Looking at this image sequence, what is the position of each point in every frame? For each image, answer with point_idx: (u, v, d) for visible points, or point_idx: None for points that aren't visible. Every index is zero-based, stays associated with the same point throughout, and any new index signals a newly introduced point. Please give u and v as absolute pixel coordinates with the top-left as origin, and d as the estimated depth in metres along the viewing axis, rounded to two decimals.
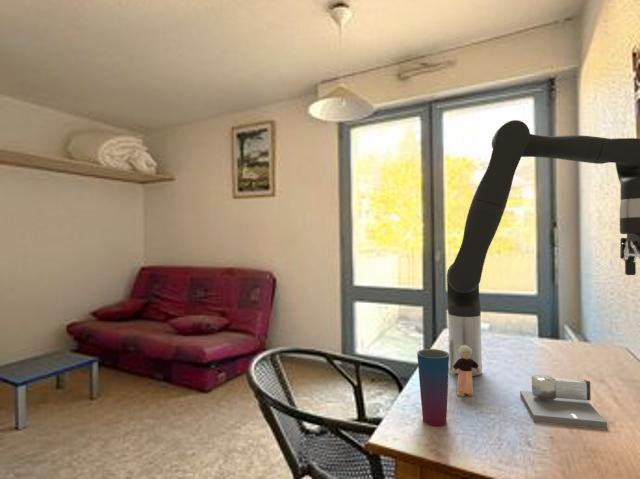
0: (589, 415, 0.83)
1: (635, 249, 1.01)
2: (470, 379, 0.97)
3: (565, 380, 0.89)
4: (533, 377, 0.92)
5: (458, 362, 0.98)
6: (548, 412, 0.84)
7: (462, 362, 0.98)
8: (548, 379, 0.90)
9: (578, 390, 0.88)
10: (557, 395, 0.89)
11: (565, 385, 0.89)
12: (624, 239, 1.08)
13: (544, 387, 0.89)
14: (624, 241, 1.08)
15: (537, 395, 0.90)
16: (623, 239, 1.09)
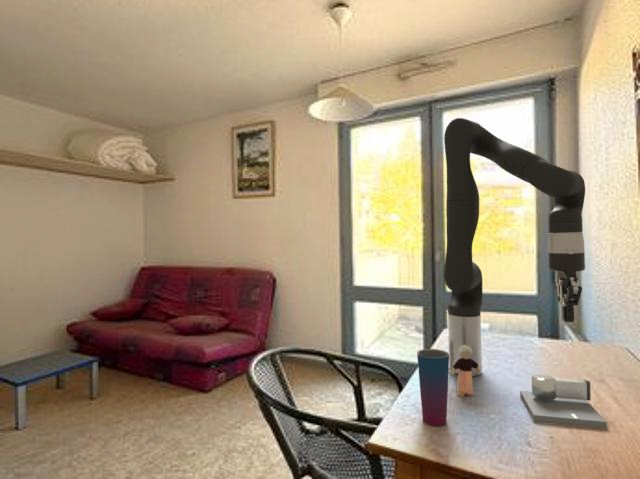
0: (589, 415, 0.83)
1: (561, 289, 0.94)
2: (470, 379, 0.97)
3: (565, 380, 0.89)
4: (533, 377, 0.92)
5: (458, 362, 0.98)
6: (548, 412, 0.84)
7: (462, 362, 0.98)
8: (548, 379, 0.90)
9: (578, 390, 0.88)
10: (557, 395, 0.89)
11: (565, 385, 0.89)
12: None
13: (544, 387, 0.89)
14: None
15: (537, 395, 0.90)
16: (556, 281, 1.00)
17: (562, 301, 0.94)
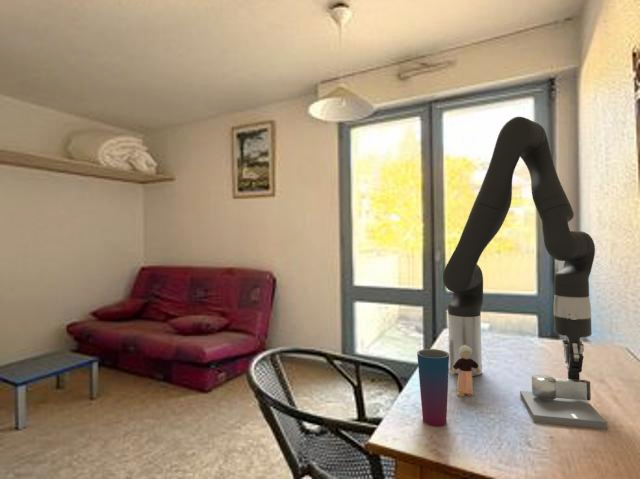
0: (589, 415, 0.83)
1: (565, 353, 0.91)
2: (470, 379, 0.97)
3: (565, 380, 0.89)
4: (533, 377, 0.92)
5: (458, 362, 0.98)
6: (548, 412, 0.84)
7: (462, 362, 0.98)
8: (548, 379, 0.90)
9: (578, 390, 0.88)
10: (557, 395, 0.89)
11: (565, 385, 0.89)
12: None
13: (544, 387, 0.89)
14: None
15: (537, 395, 0.90)
16: None
17: (567, 365, 0.92)
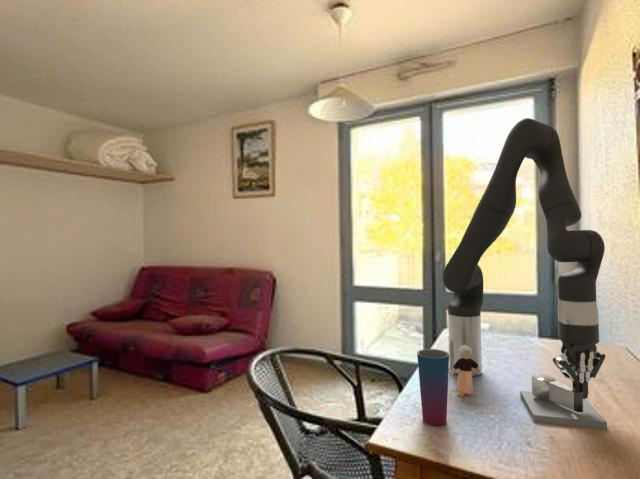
0: (589, 415, 0.83)
1: None
2: (470, 379, 0.97)
3: (559, 385, 0.87)
4: (536, 375, 0.93)
5: (458, 362, 0.98)
6: (548, 412, 0.84)
7: (462, 362, 0.98)
8: (545, 380, 0.90)
9: (566, 398, 0.84)
10: (550, 397, 0.88)
11: (556, 389, 0.87)
12: None
13: (534, 384, 0.91)
14: None
15: (532, 391, 0.92)
16: None
17: None
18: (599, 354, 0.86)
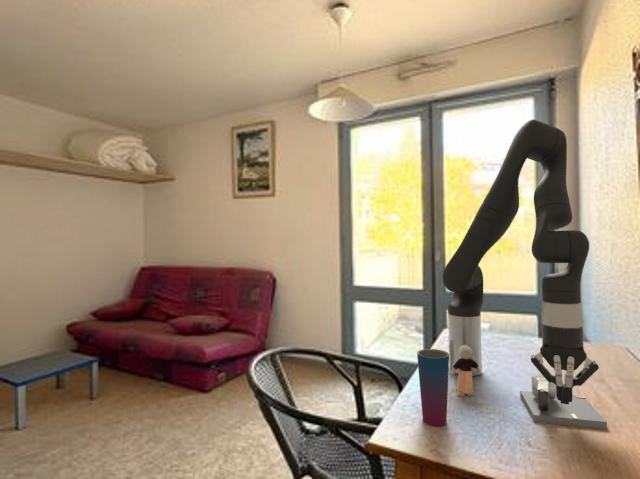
0: (589, 415, 0.83)
1: None
2: (470, 379, 0.97)
3: (542, 384, 0.87)
4: None
5: (458, 362, 0.98)
6: (548, 412, 0.84)
7: (462, 362, 0.98)
8: (541, 379, 0.90)
9: None
10: None
11: None
12: None
13: None
14: None
15: None
16: None
17: None
18: (592, 364, 0.80)
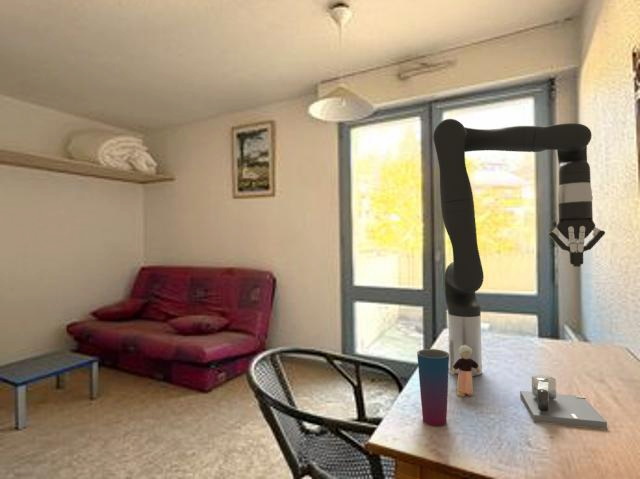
0: (589, 415, 0.83)
1: None
2: (470, 379, 0.97)
3: (542, 384, 0.87)
4: (544, 375, 0.93)
5: (458, 362, 0.98)
6: (548, 412, 0.84)
7: (462, 362, 0.98)
8: (541, 379, 0.90)
9: None
10: None
11: None
12: None
13: None
14: None
15: None
16: None
17: None
18: (599, 231, 0.99)
